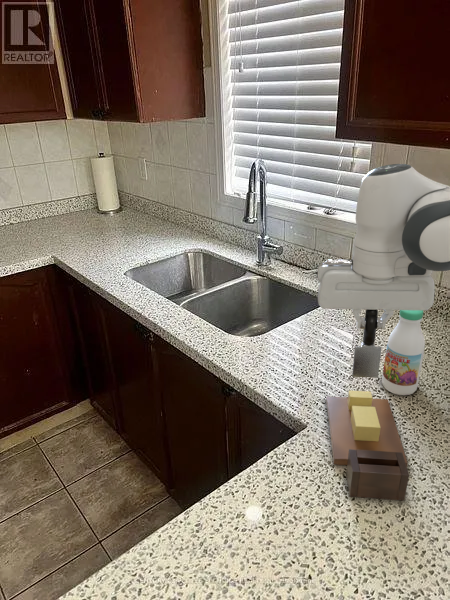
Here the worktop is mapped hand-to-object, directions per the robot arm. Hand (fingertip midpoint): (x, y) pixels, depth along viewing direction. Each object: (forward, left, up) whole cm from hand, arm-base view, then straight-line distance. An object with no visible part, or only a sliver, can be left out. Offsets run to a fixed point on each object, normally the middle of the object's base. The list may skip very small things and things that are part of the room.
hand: (370, 327), depth 85 cm
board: (0, +5, -21) cm, 22 cm away
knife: (0, 0, -11) cm, 11 cm away
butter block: (0, +6, -20) cm, 21 cm away
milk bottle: (-10, -11, -22) cm, 26 cm away
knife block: (0, +18, -21) cm, 28 cm away
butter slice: (0, -1, -20) cm, 20 cm away
